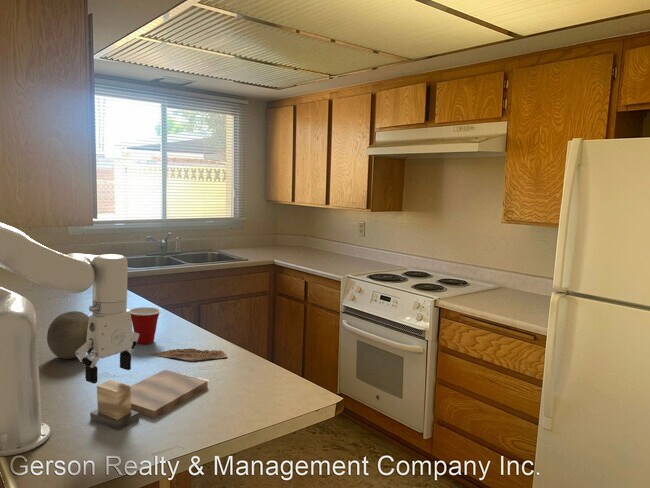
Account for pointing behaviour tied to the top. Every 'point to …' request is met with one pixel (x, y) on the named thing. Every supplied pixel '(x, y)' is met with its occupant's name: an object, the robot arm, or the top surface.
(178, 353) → the wooden fragment
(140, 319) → the plastic cup
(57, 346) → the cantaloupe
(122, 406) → the block
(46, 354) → the top surface
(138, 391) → the board
